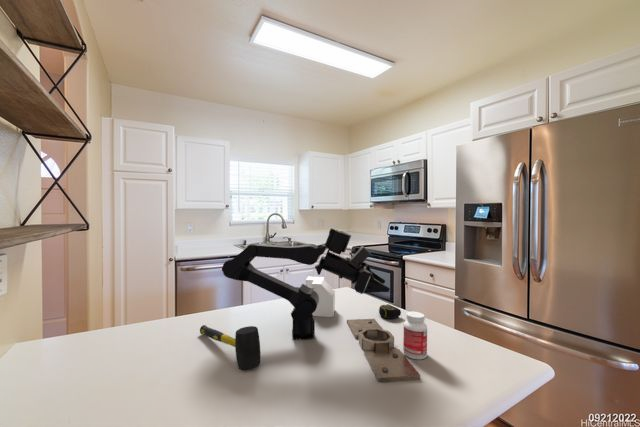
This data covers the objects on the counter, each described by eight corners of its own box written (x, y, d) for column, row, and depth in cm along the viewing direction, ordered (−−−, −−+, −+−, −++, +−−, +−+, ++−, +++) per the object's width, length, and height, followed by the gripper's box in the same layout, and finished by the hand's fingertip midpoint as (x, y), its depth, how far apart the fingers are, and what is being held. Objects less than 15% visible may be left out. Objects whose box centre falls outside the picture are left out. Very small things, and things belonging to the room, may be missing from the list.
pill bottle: (427, 362, 71) (428, 320, 71) (403, 358, 73) (403, 317, 73) (426, 350, 77) (426, 311, 77) (403, 347, 79) (403, 309, 79)
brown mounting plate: (420, 379, 64) (420, 366, 64) (379, 382, 63) (379, 369, 63) (374, 321, 97) (374, 313, 97) (346, 322, 96) (346, 314, 96)
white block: (308, 305, 113) (308, 276, 113) (335, 306, 111) (335, 277, 111) (302, 315, 102) (303, 283, 102) (332, 317, 101) (333, 284, 101)
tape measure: (401, 318, 100) (402, 308, 100) (387, 321, 97) (387, 311, 97) (388, 312, 106) (389, 302, 106) (375, 315, 103) (375, 305, 103)
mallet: (192, 337, 84) (192, 306, 84) (211, 331, 89) (211, 301, 89) (244, 377, 64) (244, 336, 64) (265, 366, 69) (265, 328, 69)
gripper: (349, 245, 75) (403, 267, 74) (348, 239, 94) (391, 256, 92) (334, 282, 75) (387, 305, 74) (336, 268, 94) (379, 286, 93)
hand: (386, 285), depth 83 cm, fingers open, 9 cm apart
